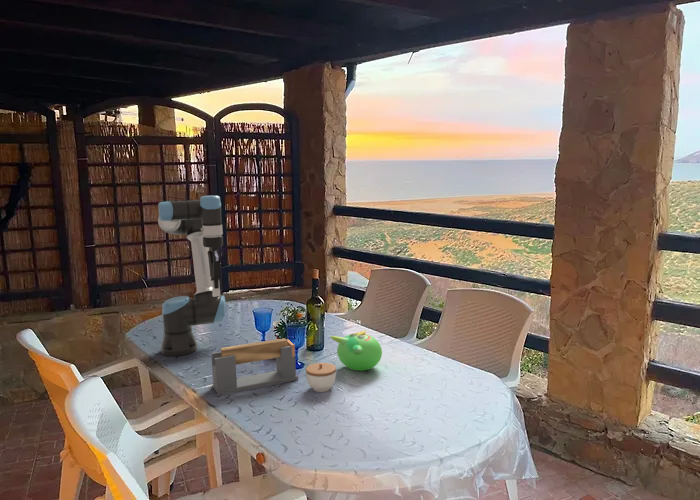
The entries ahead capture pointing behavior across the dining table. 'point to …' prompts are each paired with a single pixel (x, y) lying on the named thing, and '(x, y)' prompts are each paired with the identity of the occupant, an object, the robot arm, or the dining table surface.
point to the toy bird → (358, 351)
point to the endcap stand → (229, 383)
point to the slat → (255, 351)
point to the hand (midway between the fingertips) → (216, 295)
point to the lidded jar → (321, 376)
